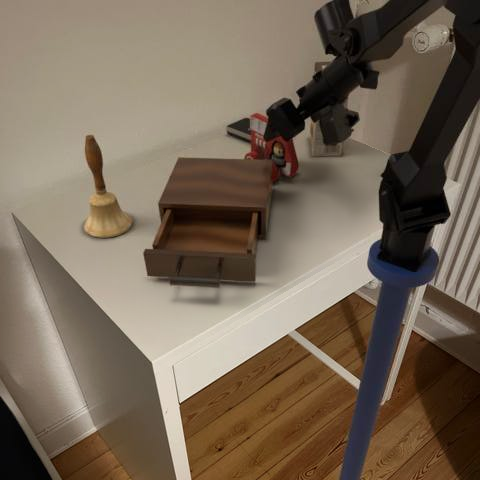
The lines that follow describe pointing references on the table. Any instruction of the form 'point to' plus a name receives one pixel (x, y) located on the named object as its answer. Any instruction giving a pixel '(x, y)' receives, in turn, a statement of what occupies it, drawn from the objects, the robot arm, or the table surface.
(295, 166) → the toy fire truck
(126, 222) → the hand bell
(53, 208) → the table surface
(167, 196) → the cabinet
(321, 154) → the coffee box
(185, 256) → the drawer
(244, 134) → the external hard drive
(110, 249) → the table surface
